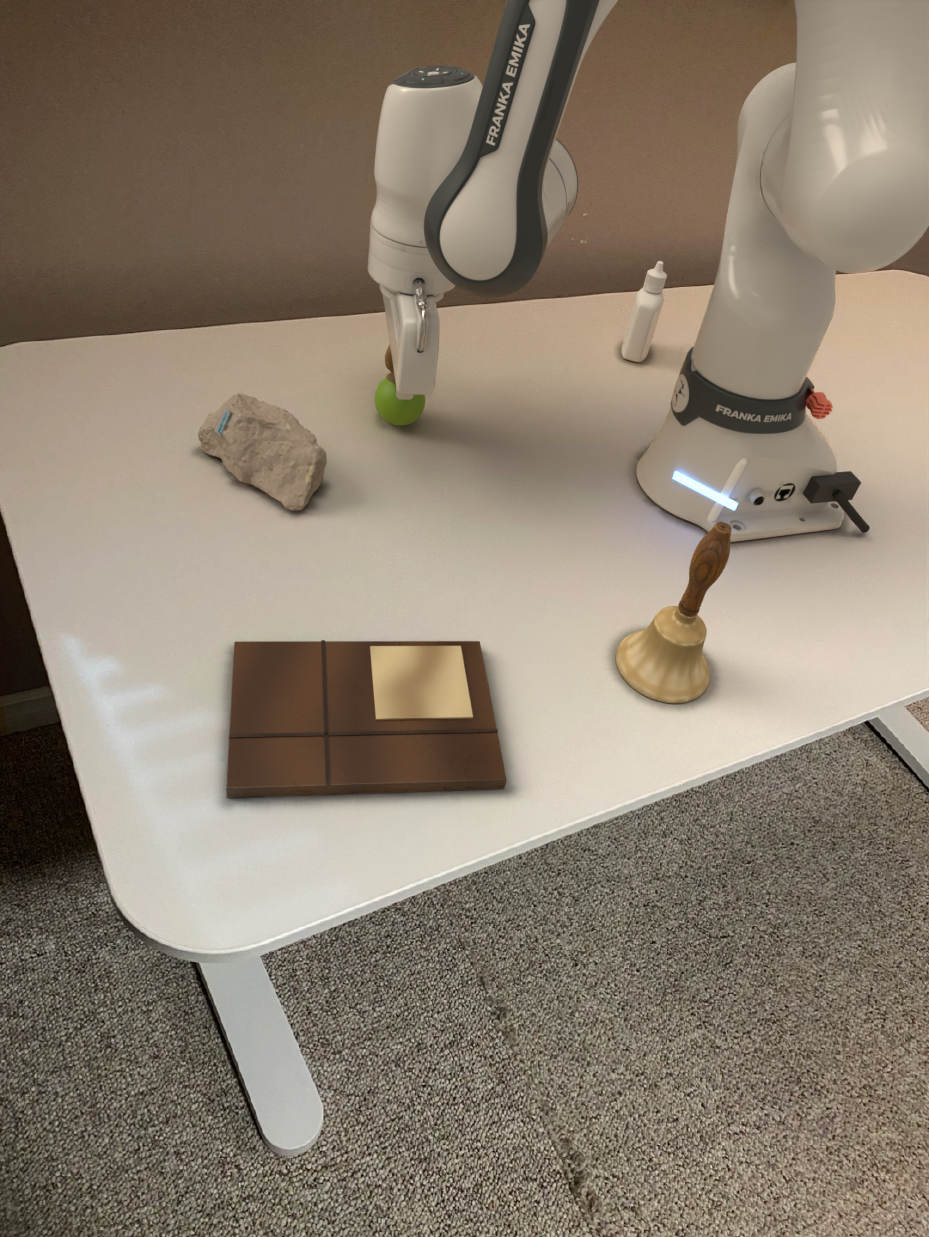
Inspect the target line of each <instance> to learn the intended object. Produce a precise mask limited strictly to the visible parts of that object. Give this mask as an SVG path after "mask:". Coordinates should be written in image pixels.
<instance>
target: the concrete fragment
mask: <svg viewBox="0 0 929 1237" xmlns="http://www.w3.org/2000/svg"><path fill="white" fill-rule="evenodd" d="M197 438H198V440H199V442H200V448H201V450H202V452H203V453H204V454H207V455H208V456H212V457H216V458H220V460H221V461H222V465H223V466H224V467H225V468H226V470H227V472H230V474H232V475H233V476H234V477H235V478H236V479H237V480H238V481H239V482H240V483H243V484H248V485H252V486H253V487H255V488H257V489H259V490H260V491H262V492H264V493H265V494H267V495H268V496H269V497H271V498H272V499H275V500H277V501H278V502H280V503H281V505H282V506H283V507H284V509H287V510H290V511H294V512H295V511H302V510H303V509H304V508H305V507H306V506H307V505H308V504H309V503H310V499H311V498H312V496H313V495H314V493H315V492H316V491H317V490H319V488H320V486H321V484H322V482H323V481H324V475H325V468H326V466H327V463H328V462H327V452H326V451H325V449H324V448H323V447H322V446H321V445H319V444H318V443H317V437H316V435H315V434H313V432H312V431H310V430H309V429H308V428H305V426H303V424H301V423H300V421H299V420H298V418H297V417H296V416H294V415H293V413H290V412H289V411H288V410H287V409H286V408H281V407H279V406H275V405H274V404H270V403H267V402H266V401H264V400H261V401H260V400H259V399H257V397H255V396H251V395H247V394H244V393H241V392H240V393H235V394H233V395H232V396H231V397H229V398H228V399H226V401H225V402H224V403H222V404H221V406H219V408H218V409H217V410H216V411H214V412H213V413H212V412H211V413H209V414H208V415H207V416H206V418H205V419H204V422H203V423H202V424H201V425H200V426H199V430H198V433H197Z"/></svg>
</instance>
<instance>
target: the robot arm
mask: <svg viewBox="0 0 929 1237" xmlns="http://www.w3.org/2000/svg"><path fill="white" fill-rule="evenodd" d="M618 1H619V0H506V1H505V6H504V10H503V14H502V17H501V19H500V20H501V21H500V24H499V27H498V31H497V34H496V38H495V41H494V45H493V48H492V52H491V55H490V58H489V63H488V67H487V69H486V74H485V78H484V82H483V84H482V82H481V80H480V79H479V78H478V76H477V75H476V74H475V73H473V72H472V71H469V70H467V69H464V68H461V67H458V66H453V65H426V66H423V67H414V68H413V69H410V70H408V71H406V72H404V73H402V74H400V75H399V76H397V77H396V78H395V79H393V81H392V82H390V84H389V85H388V86H387V88H386V90H385V94H384V97H383V100H382V104H381V109H380V114H379V120H378V127H377V134H376V141H375V142H376V144H375V153H374V154H375V155H374V164H373V166H374V167H373V176H374V181H375V187H376V198H375V204H374V206H373V209H372V212H371V217H370V224H369V226H370V227H369V228H370V229H369V242H368V243H369V244H368V258H367V272H368V274H369V276H370V277H371V279H372V280H373V281H374V282H376V283H377V284H378V285H379V290H380V292H381V295H382V301H383V308H384V313H385V320H386V328H387V333H388V340H389V345H390V348H391V355H392V362H393V369H394V375H395V382H396V386H395V390H396V397H397V398H398V399H402V400H411V399H412V398H413V396H414V395H425V396H430V395H432V393H433V391H434V390H435V386H436V380H437V371H438V360H439V350H440V336H441V334H440V332H441V327H440V326H441V324H440V315H439V311H438V307H437V303H438V302H440V301H441V300H442V299H443V298H444V294H445V293H448V292H450V291H451V290H453V289H454V288H455V287H456V288H458V289H459V290H461V291H464V292H465V293H468V294H469V295H472V296H477V297H482V298H487V299H489V298H491V299H492V298H503V297H507V296H509V295H512V294H514V293H516V292H518V291H519V290H521V289H522V288H524V287H525V286H526V285H528V284H529V283H530V281H531V280H532V279H533V277H534V276H535V275H536V272H537V271H538V269H539V266H540V264H541V262H542V260H543V258H544V256H545V253H546V251H547V250H548V249H549V247H550V246H551V245H552V243H553V241H554V240H555V238H556V237H557V235H558V233H560V231H561V229H562V227H563V226H564V224H565V222H566V221H567V219H568V218H569V216H570V215H571V213H572V211H573V210H574V207H575V205H576V202H577V198H578V193H579V177H578V171H577V170H578V169H577V167H576V163H575V161H574V159H573V157H572V154H571V153H570V152H569V150H568V148H567V147H566V146H565V144H563V143H562V141H560V140H559V139H558V138H557V136H558V133H559V130H560V127H561V124H562V121H563V118H564V116H565V112H566V109H567V107H568V104H569V100H570V97H571V93H572V90H573V89H574V88H573V87H574V85H575V82H576V79H577V77H578V73H579V70H580V68H581V65H582V63H583V60H584V58H585V56H586V54H587V52H588V50H589V48H590V46H591V44H592V41H593V39H594V38H595V36H596V35H597V33H598V31H599V30H600V28H601V26H602V24H603V23H604V21H605V20H606V19H607V17H608V15H609V14H610V12H611V11H612V10H613V8H614V7H615V5H616V4H618ZM793 1H794V11H795V20H796V51H795V52H796V55H795V56H796V57H795V62H792V63H791V62H790V63H787V64H785V65H782V66H780V67H778V68H776V69H774V70H772V71H771V72H769V73H768V74H767V75H765V76H764V77H763V78H762V79H760V81H759V82H758V83H756V85H755V86H753V88H752V90H751V91H750V92H749V94H748V95H747V97H746V99H745V101H744V103H743V104H742V107H741V110H740V113H739V116H738V121H737V127H736V135H737V136H736V142H737V143H736V144H737V145H736V160H735V167H734V173H733V179H732V184H731V190H730V195H729V201H728V205H727V206H728V208H727V211H726V212H727V213H726V218H725V224H724V233H723V239H722V246H721V252H720V256H719V261H718V262H719V263H718V267H717V271H716V276H715V279H714V280H715V281H714V284H713V286H712V290H711V294H710V295H709V296H710V297H709V300H708V302H707V305H706V308H705V311H704V314H703V318H702V320H701V324H700V327H699V329H698V333H697V336H696V339H695V341H694V345H693V346H692V347H691V348H690V349H689V350H688V352H687V353H686V355H685V358H684V360H683V363H682V366H681V369H680V371H679V374H678V377H677V379H676V381H675V384H674V388H673V391H672V396H671V400H670V408H669V409H668V412H667V414H666V416H665V418H664V420H663V422H662V424H661V426H660V428H659V430H658V431H657V434H656V435H655V437H654V439H653V440H652V441H651V444H650V445H649V446H648V448H647V449H646V450H645V452H644V453H643V455H642V456H641V457H640V458H639V460H638V462H637V463H636V467H635V468H636V469H635V474H636V478H637V481H638V484H639V485H640V488H641V489H642V490H643V492H644V493H645V494H646V495H647V496H648V497H649V498H650V499H651V501H652V502H654V503H655V504H656V505H658V506H659V507H660V508H663V509H664V510H665V511H667V512H668V513H671V514H672V515H674V516H675V517H678V518H680V519H681V520H684V521H686V522H687V521H688V522H689V523H693V524H694V525H696V526H698V527H700V528H703V530H704V531H706V532H707V533H708V532H709V531H710V530H711V529H712V528H713V527H714V525H715V524H716V523H717V522H724V523H727V524H729V525H730V526H731V528H732V531H731V537H730V543H734V542H735V543H736V542H744V541H751V540H760V539H767V538H774V537H775V538H776V537H781V536H782V537H783V536H790V535H791V536H792V535H797V534H798V535H799V534H806V533H814V532H821V531H822V532H823V531H830V530H835V529H836V530H837V529H839V528H841V526H842V523H843V520H844V517H845V514H846V515H847V517H848V518H849V519H850V521H851V522H852V523H853V524H854V525H855V527H857V529H858V530H859V531H860V532H861V533H863V534H866V533H868V532H869V531H870V526H869V524H868V523H867V522H866V520H865V519H863V517H862V516H861V514H860V513H859V512H858V511H857V510H856V509H855V507H854V506H853V504H852V503H851V502H850V501H853V499H854V497H855V496H856V494H857V492H858V490H859V488H860V487H861V484H862V481H861V480H860V479H859V478H858V477H857V475H855V474H854V473H853V471H851V470H847V471H838V465H837V464H838V463H837V459H836V455H835V453H834V450H833V448H832V446H831V445H830V443H829V441H828V439H827V438H826V437H825V436H824V434H823V433H822V431H821V430H820V429H819V427H818V426H817V425H816V423H815V422H814V421H813V419H811V417H810V416H809V415H808V414H807V409H808V410H809V411H810V414H811V416H812V417H813V418H814V419H816V420H822V419H825V418H826V416H829V415H830V414H831V413H832V412H833V409H834V406H833V403H832V402H831V401H830V400H829V399H828V398H827V396H826V394H825V393H824V392H822V391H821V392H820V391H815V385H814V384H813V382H812V380H811V379H810V378H809V377H808V374H809V371H810V369H811V367H812V364H813V363H814V360H815V358H816V356H817V353H818V351H819V349H820V346H821V344H822V342H823V341H824V338H825V336H826V333H827V331H828V329H829V326H830V324H831V322H832V320H833V316H834V312H835V306H836V299H837V298H836V274H837V272H840V273H844V274H853V275H856V274H864V273H870V272H873V271H877V270H879V269H883V268H885V267H887V266H889V265H891V264H893V263H894V262H896V261H897V260H899V259H900V258H901V257H903V256H904V255H905V254H907V253H908V252H909V251H910V250H911V249H912V248H913V247H915V245H916V244H917V243H918V242H919V241H920V240H921V239H922V237H923V236H924V235H925V233H926V231H927V230H928V228H929V0H793Z"/></svg>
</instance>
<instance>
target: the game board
mask: <svg viewBox="0 0 929 1237" xmlns="http://www.w3.org/2000/svg"><path fill="white" fill-rule="evenodd" d="M232 660H233V661H232V662H233V663H232V679H231V680H232V681H231V698H230V699H231V700H230V713H229V714H230V715H229V732H228V749H227V767H226V768H227V770H226V787H225V789H226V790H225V791H226V798H228V799H231V798H236V799H237V798H264V797H299V796H323V795H324V796H327V795H353V794H354V795H355V794H357V795H358V794H385V793H387V794H388V793H389V794H390V793H417V792H419V793H420V792H447V791H450V792H451V791H476V790H477V791H478V790H479V791H481V790H504V789H505V787H506V783H507V775H506V769H505V764H504V760H503V754H502V749H501V744H500V738H499V730H498V727H497V723H496V718H495V712H494V708H493V702H492V697H491V692H490V686H489V682H488V677H487V670H486V667H485V666H486V665H485V661H484V656H483V651H482V645H481V641H480V640H438V641H437V640H411V641H410V640H391V641H390V640H384V641H383V640H379V641H378V640H370V641H369V640H367V641H365V640H364V641H363V640H359V641H358V640H350V641H349V640H346V641H345V640H343V641H341V640H338V641H337V640H334V641H333V640H330V641H329V640H327V641H326V640H325V639H321V641H317V640H314V641H313V640H312V641H311V640H309V641H306V640H305V641H303V640H302V641H300V640H298V641H296V640H295V641H293V640H292V641H290V640H289V641H284V640H283V641H280V640H279V641H278V640H277V641H276V640H275V641H271V640H270V641H269V640H268V641H267V640H266V641H265V640H264V641H259V640H258V641H257V640H256V641H252V640H251V641H234V644H233V659H232Z"/></svg>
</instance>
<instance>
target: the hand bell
mask: <svg viewBox="0 0 929 1237" xmlns="http://www.w3.org/2000/svg"><path fill="white" fill-rule="evenodd" d="M731 531H732V528H731V526H730V525H729V524H727V523H724V522H717V523H716V524H715V525H714V527H713V528H712V529H711V530H710V531H709V532H708V531H707V533H706V534H705V535H704V536H703V537H702V538H701V539H700V541H699V542H698V544H697V545H696V547H695V549H694V552H693V554H692V557H691V560H690V564H689V568H688V569H689V570H688V582H687V586H686V588H685V590H684V592H683V594H682V596H681V599H680V600H679V602H678V605H670V606H666V607H663V608H661V609H660V610H658V612H656V613H655V616H654V617H653V619H652V621H650V624H649V625H648V626H647V627H646V628H643V629H639V630H636V631H634V632H632V633H630V634H628V635H627V636H625V637H624V638H623V639H622V640H621V641H620V642H619V643H618V646H617V648H616V651H615V662H616V666H617V669H618V671H619V673H620V676H622V678H623V679H624V681H626V683H627V684H628V685H629V686H630V687H631V688H632V689H634V690H636V691H637V692H638V693H640V694H641V695H642V696H645V697H647V698H649V699H651V700H654V701H658V702H661V703H666V704H676V705H677V704H686V703H688V702H692V701H694V700H696V699H698V698H699V697H701V696H702V695H704V693H705V692H706V691H707V689H708V687H709V686H710V681H711V672H710V667H709V663H708V661H707V658H706V656H705V655H704V654H703V650H704V645H705V642H706V638H707V633H708V632H707V626H706V623H705V622H704V620H703V618H702V617H701V616H699V613H700V609H701V607H702V603H703V601H704V599H705V595H706V593H707V592H708V590H709V589H710V588H711V587H712V586H713V585H714V584H715V583H716V582H717V580H718V579H719V578H720V576H721V575H722V574H723V572H724V570H725V568H726V566H727V564H728V562H729V559H730V553H731V542H730V537H731Z"/></svg>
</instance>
